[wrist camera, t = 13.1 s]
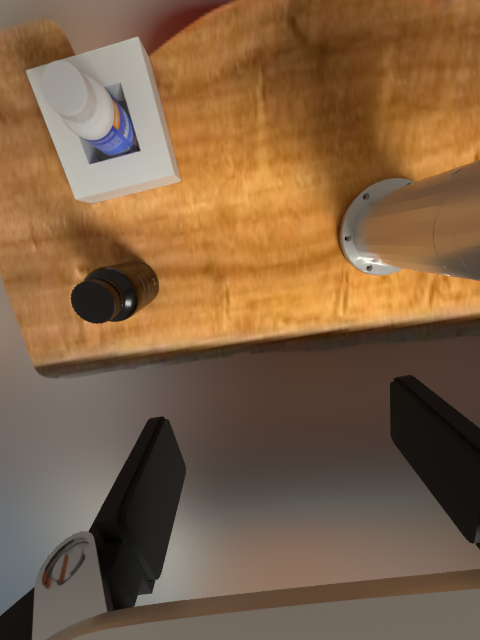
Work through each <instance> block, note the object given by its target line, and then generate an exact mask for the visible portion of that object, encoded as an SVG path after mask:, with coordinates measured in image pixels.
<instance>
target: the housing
mask: <svg viewBox="0 0 480 640" xmlns="http://www.w3.org/2000/svg"><path fill="white" fill-rule="evenodd" d="M61 60H62V61H66V62H68V63H70V64H72V65H73V66H75V67H76V68H77V69H78V70H79V71H80V72H83V73H87V74H89V75H91V76H93V77H94V78H96V79H97V80H98V81H99V82H100V83H101V84H102V85H103V86H104V87H105V88H106V90H107V91H108V92H109V93H110V94H111V95H112V96H113V98H114V99H115V100H116V101H117V102H118V103H119V104H120V106H121V107H122V108H123V109H124V110H125V111H126V112H127V114H128V115H129V116H130V117H131V119H132V123H133V126H134V130H135V133H136V136H137V140H138V143H139V146H138V149H137V151H136V152H135V153H131V154H127V155H124V156H120V157H116V158H111V157H109V156H107V155H106V154H105V153H103V152H102V151H100V150H99V149H97V148H96V147H94V146H93V145H91V144H90V143H88V142H87V141H85V140H84V139H82V138H81V137H79V136H78V135H76V134H75V133H74V132H73V131H71V130H70V129H69V128H68V127H67V125H66V124H65V123H64V121H63V120H62V118H61V116H60V114H59V113H58V112H56V111H55V110H54V109H53V108H52V107H51V106H50V104H49V103H48V102H47V100H46V98H45V96H44V93H43V89H42V75H43V72H44V70H45V68H46V67H47V65H48V64H49V63H48V64H45V65H42V66H38V67H35V68H32V69H28V70H25V71H26V73H27V76H28V78H29V81H30V84H31V86H32V89H33V91H34V94H35V96H36V99H37V102H38V104H39V107H40V109H41V112H42V114H43V117H44V120H45V122H46V125H47V127H48V130H49V132H50V135H51V138H52V140H53V143H54V145H55V148H56V150H57V153H58V156H59V158H60V161H61V163H62V166H63V168H64V171H65V173H66V176H67V179H68V181H69V184H70V186H71V189H72V191H73V194H74V197H75V199H76V200H79V201H83V202H87V203H91V204H94V203H98V202H102V201H106V200H110V199H114V198H118V197H122V196H126V195H130V194H134V193H138V192H142V191H146V190H150V189H154V188H158V187H162V186H166V185H170V184H174V183H178V182H182V181H181V177H180V174H179V170H178V166H177V162H176V158H175V154H174V150H173V146H172V143H171V139H170V135H169V131H168V127H167V123H166V119H165V115H164V112H163V108H162V104H161V100H160V96H159V92H158V88H157V84H156V80H155V77H154V73H153V69H152V65H151V61H150V59H149V57H148V55H147V53H146V51H145V49H144V47H143V45H142V43H141V41H140V39H139V37H134V38H131V39H128V40H125V41H121V42H118V43H115V44H111V45H108V46H105V47H101V48H98V49H95V50H91V51H88V52H85V53H81V54H78V55H75V56H71V57H68V58H65V59H61Z"/></svg>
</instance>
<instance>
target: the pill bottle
mask: <svg viewBox="0 0 480 640" xmlns="http://www.w3.org/2000/svg"><path fill="white" fill-rule="evenodd" d="M42 89H43V93H44V96H45V98H46V100H47V102H48V103H49V104H50V106H51V107H52V108H53V109H54V110H55V111H56V112H58V113H59V114H60V116H61V118H62V120H63V121H64V123H65V124H66V125H67V127H68V128H69V129H70V130H71V131H73V132H74V133H75V134H76V135H78V136H79V137H81V138H82V139H84V140H85V141H87V142H88V143H90V144H91V145H93V146H94V147H96V148H97V149H99V150H100V151H102V152H103V153H105V154H106V155H107V156H109V157H111V158H116V157H120V156H124V155H127V154H131V153H135V152H136V151H137V149H138V146H139V143H138V140H137V136H136V133H135V130H134V126H133V123H132V119H131V117H130V116H129V115H128V114H127V112H126V111H125V110H124V109H123V108H122V107H121V106H120V104H119V103H118V102H117V101H116V100H115V99H114V98H113V96H112V95H111V94H110V93H109V92H108V91H107V90H106V88H105V87H104V86H103V85H102V84H101V83H100V82H99V81H98V80H97V79H96V78H94V77H93V76H91V75H89V74H87V73H83V72H80V71H79V70H78V69H77V68H76V67H75V66H73V65H72V64H70V63H68V62H66V61H62V60H56V61H53V62H51V63H49V64H48V65H47V67H46V68H45V70H44V72H43V75H42Z"/></svg>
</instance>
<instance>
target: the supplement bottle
mask: <svg viewBox="0 0 480 640" xmlns="http://www.w3.org/2000/svg"><path fill="white" fill-rule="evenodd" d="M158 291H159V282H158V279H157V276H156V274H155V273H154V272H153V270H152V269H151V268H149V267H148V266H147V265H145V264H143V263H140V262H126V263H121V264H116V265H111V266H106V267H101V268H98V269H95V270H93V271H92V272H90V273H89V274H88V275H87V276H86V278H85V279H84V281H83V282H81V283H80V284H77V286H76V287H74V290H72V294H71V303H72V307H73V308H74V311H75V312H76V313H77V314H78V315H79V316H80V317H81V318H83V319H84V320H86V321H88V322H91V323H96V324H98V323H104V322H107V321H111V322H118V321H123V320H126V319H128V318H130V317H131V316H133V315H134V314H135V313H137V312H138V311H140V310H141V309H142V308H144V307H145V306H147V305H148V304H149V303H151V302H152V301H153V300H154V299H155V298H156V296H157V294H158Z"/></svg>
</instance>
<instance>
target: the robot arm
mask: <svg viewBox="0 0 480 640" xmlns="http://www.w3.org/2000/svg"><path fill="white" fill-rule="evenodd" d="M363 196H364V197H365V199H363ZM345 237H347V239H346V240H345ZM340 244H341V249H342V252H343V254H344V256H345V258H346V259H347V261H348V262H349V263H350V264H351V265H352V266H353V267H354V268H356V269H357V270H359V271H361V272H364V273H367V274H372V275H388V274H392V273H395V272H398V271H400V270H402V269H409V270H415V271H421V272H427V273H433V274H439V275H445V276H451V277H458V278H465V279H471V280H477V281H480V160H478V161H475V162H473V163H470V164H467V165H464V166H461V167H458V168H455V169H452V170H449V171H447V172H444V173H441V174H438V175H435V176H432V177H429V178H426V179H423V180H421V181H418V182H414V181H411V180H408V179H404V178H391V179H386V180H383V181H380V182H377V183H375V184H373V185H371V186H369V187H368V188H366V189H365V190H363V191H362V192H361V193H360V194H359V195H357V196H356V197H355V198H354V200H353V201H352V202H351V204H350V205H349V206H348V208H347V210H346V212H345V214H344V216H343V219H342V222H341V227H340ZM367 266H368V268H367ZM366 268H367V269H366ZM390 420H391V421H390V423H391V438H392V440H393V442H394V444H395V445H396V447H397V448H398V449H399V450H400V452H401V453H402V454H403V456H404V457H405V458H406V460H407V461H408V462H409V464H410V465H411V466H412V468H413V469H414V470H415V472H416V473H417V474H418V476H419V477H420V478H421V480H422V481H423V482H424V483H425V485H426V486H427V488H428V489H429V490H430V492H431V493H432V494H433V496H434V497H435V498H436V500H437V501H438V502H439V504H440V505H441V506H442V508H443V509H444V510H445V511H446V513H447V514H448V516H449V517H450V518H451V520H452V521H453V522H454V524H455V525H456V526H457V528H458V529H459V530H460V532H461V533H462V534H463V536H464V537H465V538H466V539H467V540H468V541H469V542H470V543H475V544H476V545H477V547H478V548H479V549H480V428H478V427H477V426H476V425H475V424H473V423H472V422H471V421H469V420H468V419H467V418H466V417H464V416H463V415H462V414H461V413H459V412H458V411H457V410H456V409H454V408H453V407H452V406H450V405H449V404H448V403H447V402H446V401H444V400H443V399H442V398H440V397H439V396H438V395H437V394H435V393H434V392H433V391H431V390H430V389H429V388H428V387H426V386H425V385H424V384H423V383H421V382H420V381H419V380H418V379H416V378H415V377H413V376H412V375H407V376H401V377H396V378H394V382H391V383H390ZM185 474H186V466H185V463H184V460H183V457H182V455H181V452H180V449H179V446H178V444H177V441H176V438H175V436H174V433H173V430H172V427H171V425H170V422H169V420H168V419H165V418H164V417H156V418H151V419H149V420H148V421H147V423H146V425H145V427H144V429H143V430H142V432H141V434H140V436H139V438H138V440H137V442H136V444H135V446H134V448H133V449H132V451H131V453H130V455H129V457H128V459H127V460H126V462H125V464H124V466H123V468H122V470H121V471H120V473H119V475H118V477H117V479H116V481H115V483H114V485H113V487H112V489H111V490H110V492H109V494H108V496H107V498H106V500H105V502H104V503H103V505H102V507H101V509H100V511H99V513H98V515H97V517H96V518H95V520H94V522H93V524H92V526H91V528H90V530H89V532H79V533H76V534H73V535H72V536H70V537H69V538H67V539H65V540H64V541H63V542H62V543H61V544H59V545H58V546H57V547H56V548H55V549H54V550H53V552H52V553H51V554H50V555H49V556H48V557H47V559H46V560H45V562H44V563H43V565H42V566H41V568H40V571H39V573H38V575H37V577H36V583H35V587H34V588H33V589H32V590H31V591H29V592H28V593H27V594H26V595H24V596H23V597H22V598H21V599H20V600H19V601H17V602H16V603H15V604H14V605H13V606H12V607H10V608H9V609H8V610H7V611H6V612H5V613H3V614H2V615H1V616H0V640H480V569H477V570H465V571H454V572H444V573H434V574H425V575H414V576H404V577H394V578H384V579H373V580H364V581H355V582H345V583H335V584H326V585H316V586H308V587H298V588H288V589H279V590H271V591H260V592H252V593H243V594H235V595H225V596H216V597H209V598H208V597H207V598H198V599H190V600H181V601H173V602H166V603H159V604H152V605H145V606H137V607H134V606H135V602H136V599H137V596H138V595H142V594H151V593H152V591H153V588H154V584H155V580H157V579H158V578H159V577H160V575H161V572H162V568H163V564H164V560H165V556H166V552H167V548H168V544H169V540H170V536H171V532H172V528H173V524H174V520H175V515H176V511H177V507H178V503H179V499H180V495H181V491H182V487H183V482H184V479H185Z"/></svg>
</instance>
